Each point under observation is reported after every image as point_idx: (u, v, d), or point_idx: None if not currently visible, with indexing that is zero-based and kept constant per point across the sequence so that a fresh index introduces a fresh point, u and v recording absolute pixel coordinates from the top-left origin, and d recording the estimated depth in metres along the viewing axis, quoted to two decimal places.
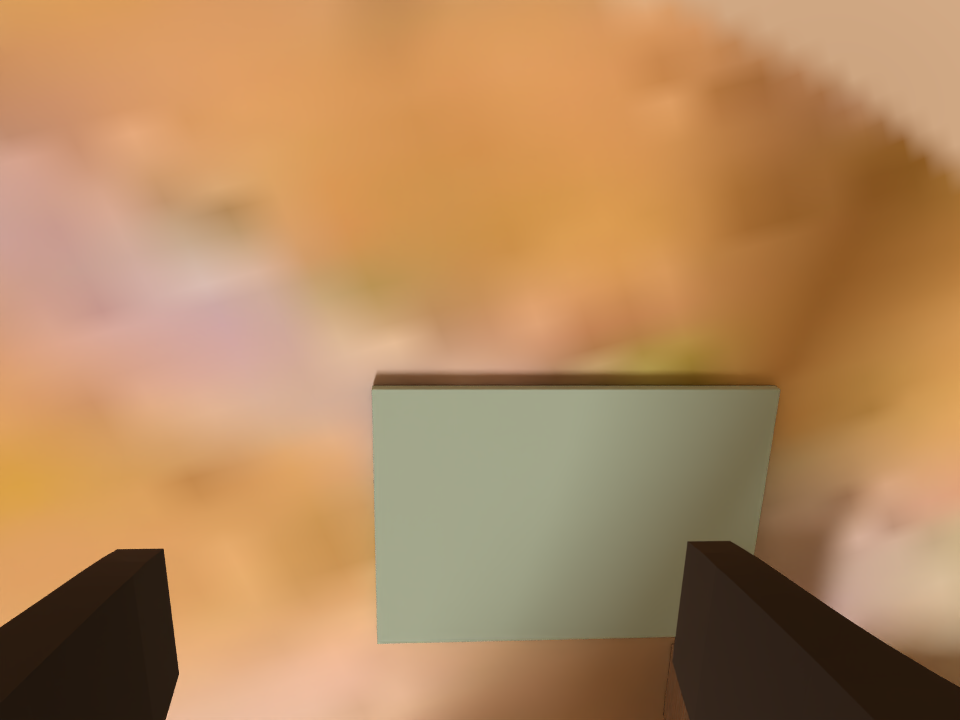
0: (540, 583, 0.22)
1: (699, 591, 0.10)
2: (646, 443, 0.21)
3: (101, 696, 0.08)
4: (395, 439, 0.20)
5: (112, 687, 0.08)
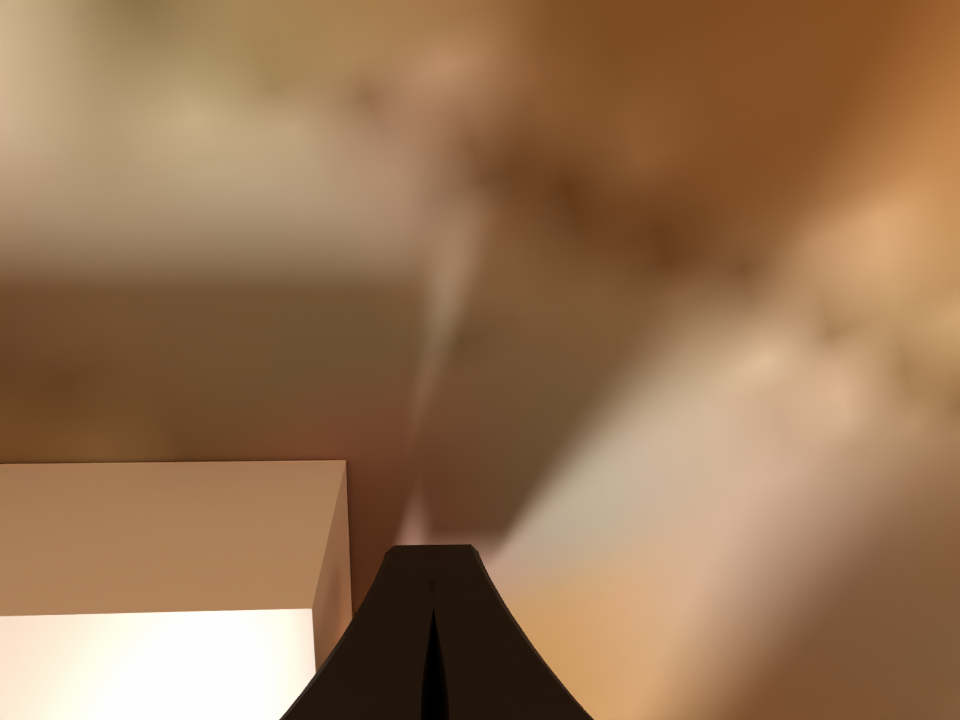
0: None
1: None
2: None
3: (432, 687, 0.08)
4: None
5: None
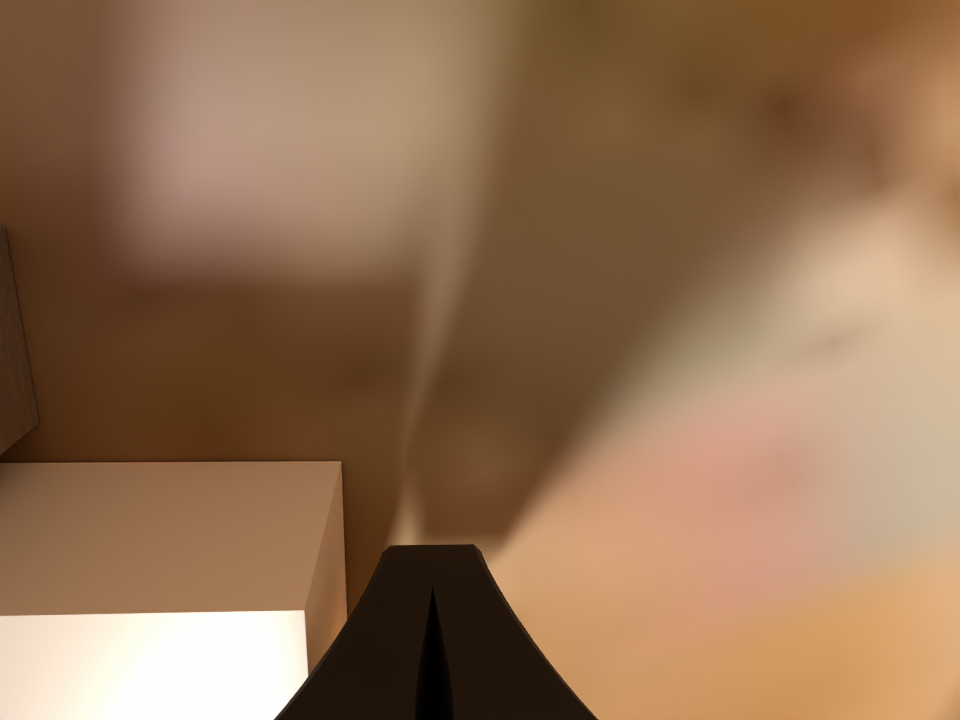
0: None
1: None
2: None
3: (428, 687, 0.08)
4: None
5: (429, 679, 0.09)
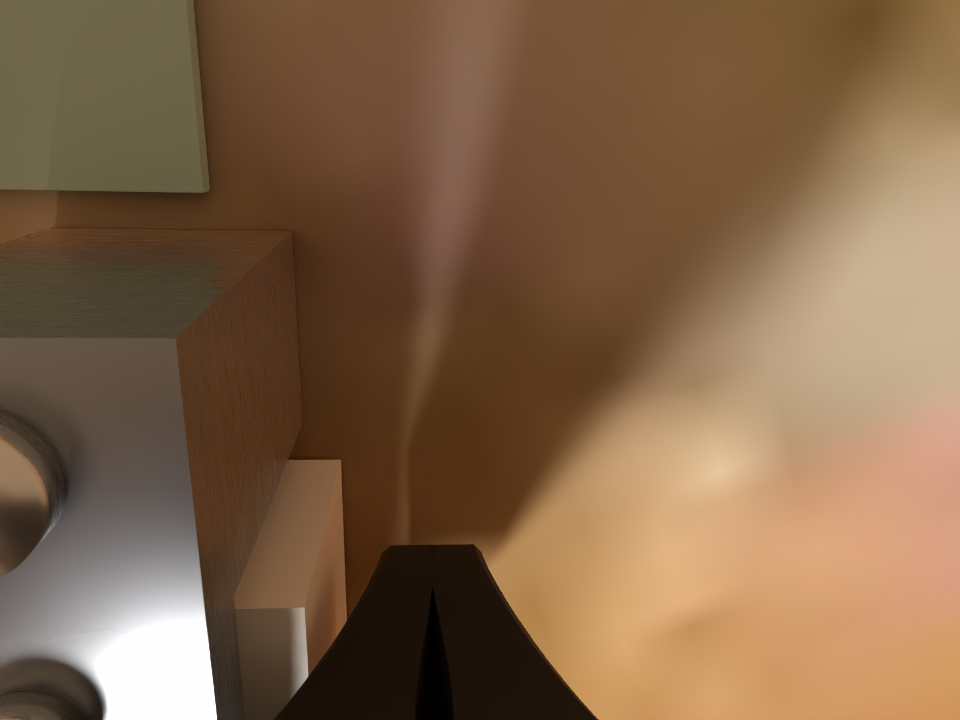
0: None
1: None
2: None
3: (429, 687, 0.08)
4: None
5: (429, 679, 0.09)
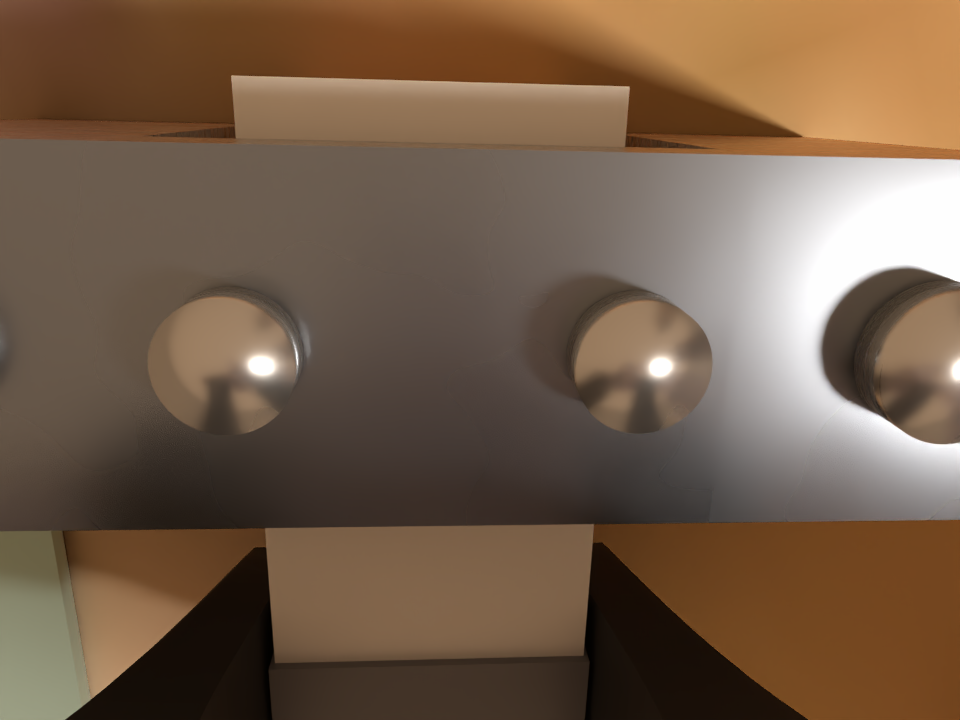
0: None
1: None
2: None
3: (265, 691, 0.08)
4: None
5: None
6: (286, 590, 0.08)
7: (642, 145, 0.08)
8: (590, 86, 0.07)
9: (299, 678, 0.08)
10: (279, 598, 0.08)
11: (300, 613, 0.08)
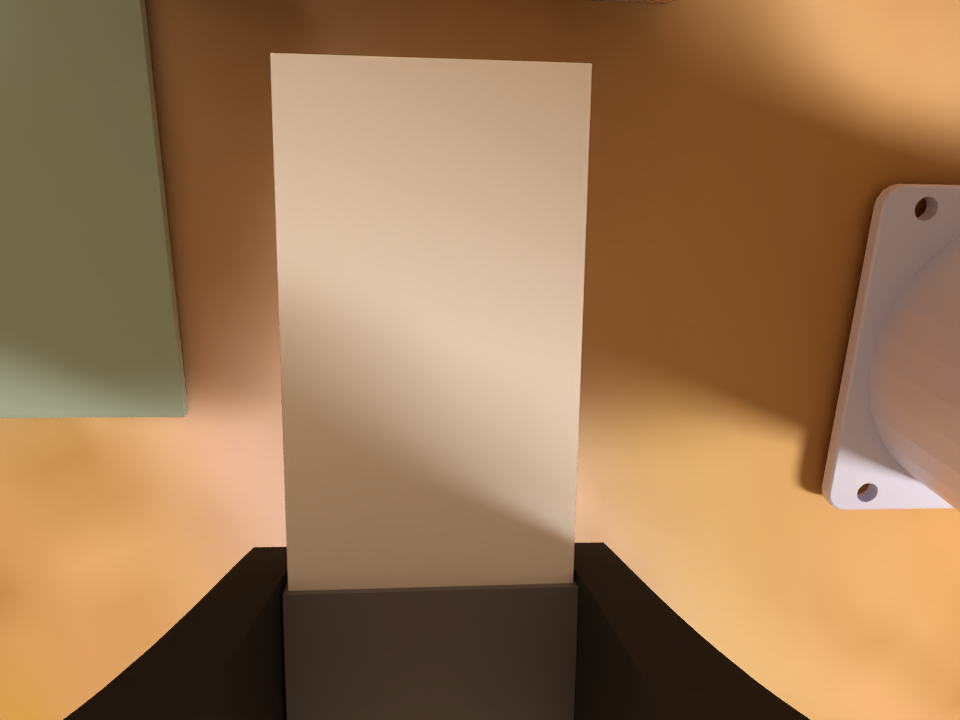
0: (63, 205, 0.16)
1: None
2: None
3: (264, 691, 0.08)
4: None
5: (271, 683, 0.09)
6: (301, 516, 0.09)
7: None
8: (560, 63, 0.08)
9: (310, 605, 0.09)
10: (294, 524, 0.09)
11: (313, 539, 0.09)
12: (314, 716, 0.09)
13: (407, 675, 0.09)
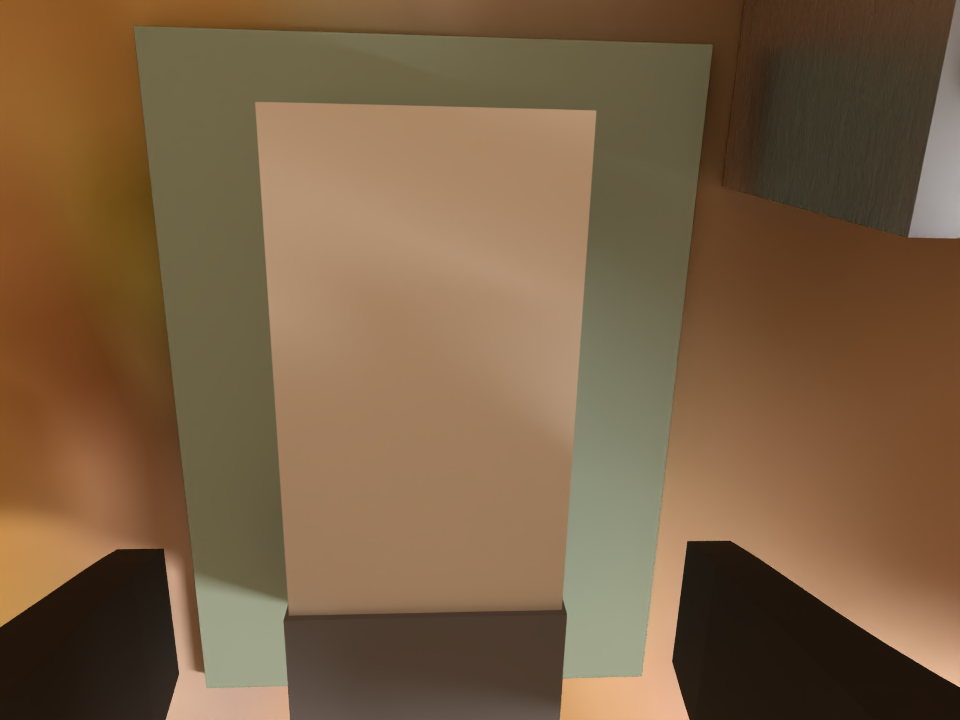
0: None
1: (699, 591, 0.10)
2: None
3: (100, 696, 0.08)
4: None
5: (112, 687, 0.08)
6: (299, 550, 0.09)
7: None
8: (562, 110, 0.08)
9: (310, 628, 0.09)
10: (293, 557, 0.09)
11: (311, 570, 0.09)
12: None
13: (403, 689, 0.10)
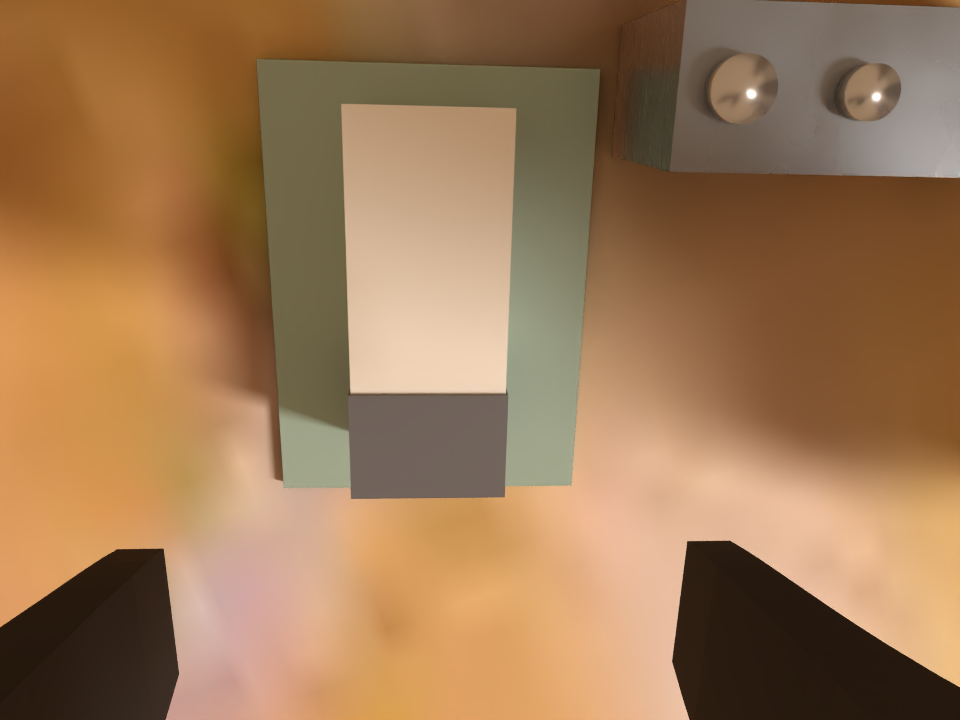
0: None
1: (699, 591, 0.10)
2: (332, 216, 0.19)
3: (101, 696, 0.08)
4: (335, 468, 0.21)
5: (112, 687, 0.08)
6: (357, 354, 0.16)
7: None
8: (498, 108, 0.15)
9: (362, 401, 0.17)
10: (353, 358, 0.16)
11: (363, 366, 0.16)
12: (364, 461, 0.17)
13: (414, 440, 0.17)
